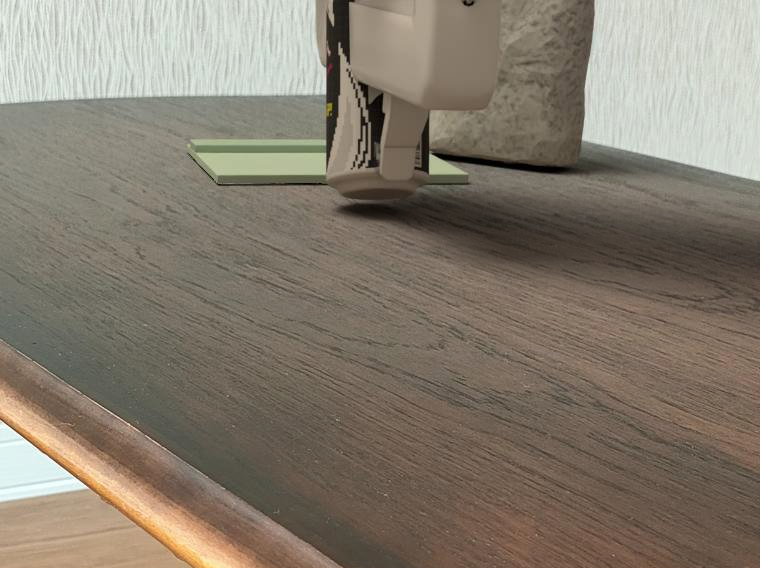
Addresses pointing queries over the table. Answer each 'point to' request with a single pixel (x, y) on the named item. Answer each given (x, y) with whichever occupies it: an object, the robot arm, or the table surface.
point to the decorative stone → (528, 89)
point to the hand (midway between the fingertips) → (388, 176)
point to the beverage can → (358, 123)
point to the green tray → (284, 161)
